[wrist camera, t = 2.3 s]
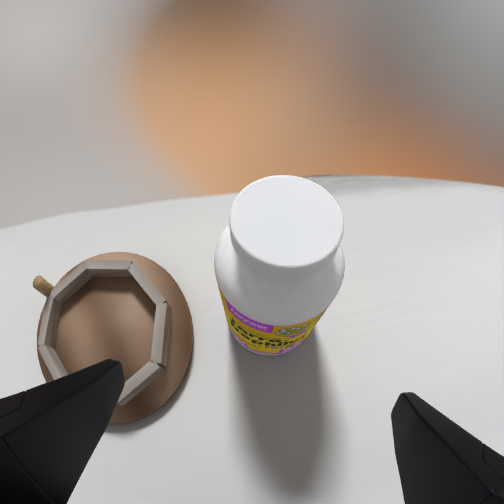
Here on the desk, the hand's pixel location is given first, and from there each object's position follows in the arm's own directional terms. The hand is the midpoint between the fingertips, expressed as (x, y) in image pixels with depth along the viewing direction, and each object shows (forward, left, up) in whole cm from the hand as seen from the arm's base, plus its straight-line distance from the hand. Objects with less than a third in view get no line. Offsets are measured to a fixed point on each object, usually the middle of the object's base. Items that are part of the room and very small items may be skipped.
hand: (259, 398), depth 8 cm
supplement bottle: (+6, +4, -13) cm, 15 cm away
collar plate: (-5, +12, -13) cm, 19 cm away
